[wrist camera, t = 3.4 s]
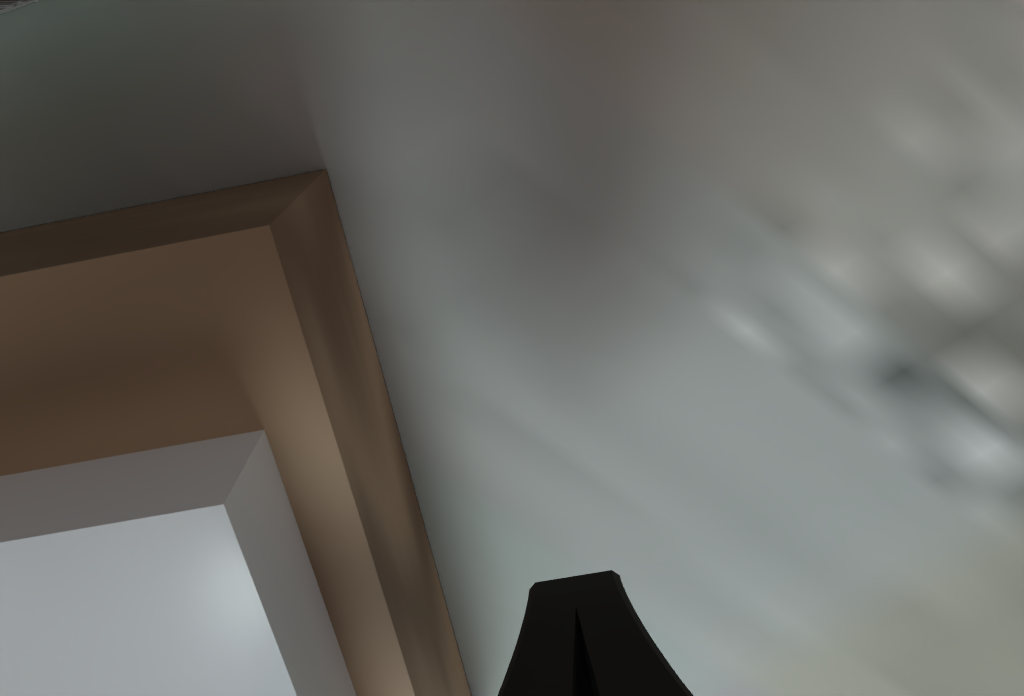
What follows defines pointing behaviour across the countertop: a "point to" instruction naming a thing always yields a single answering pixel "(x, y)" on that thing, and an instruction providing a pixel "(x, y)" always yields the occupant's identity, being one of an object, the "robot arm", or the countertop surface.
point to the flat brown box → (234, 388)
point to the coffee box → (13, 4)
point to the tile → (161, 579)
